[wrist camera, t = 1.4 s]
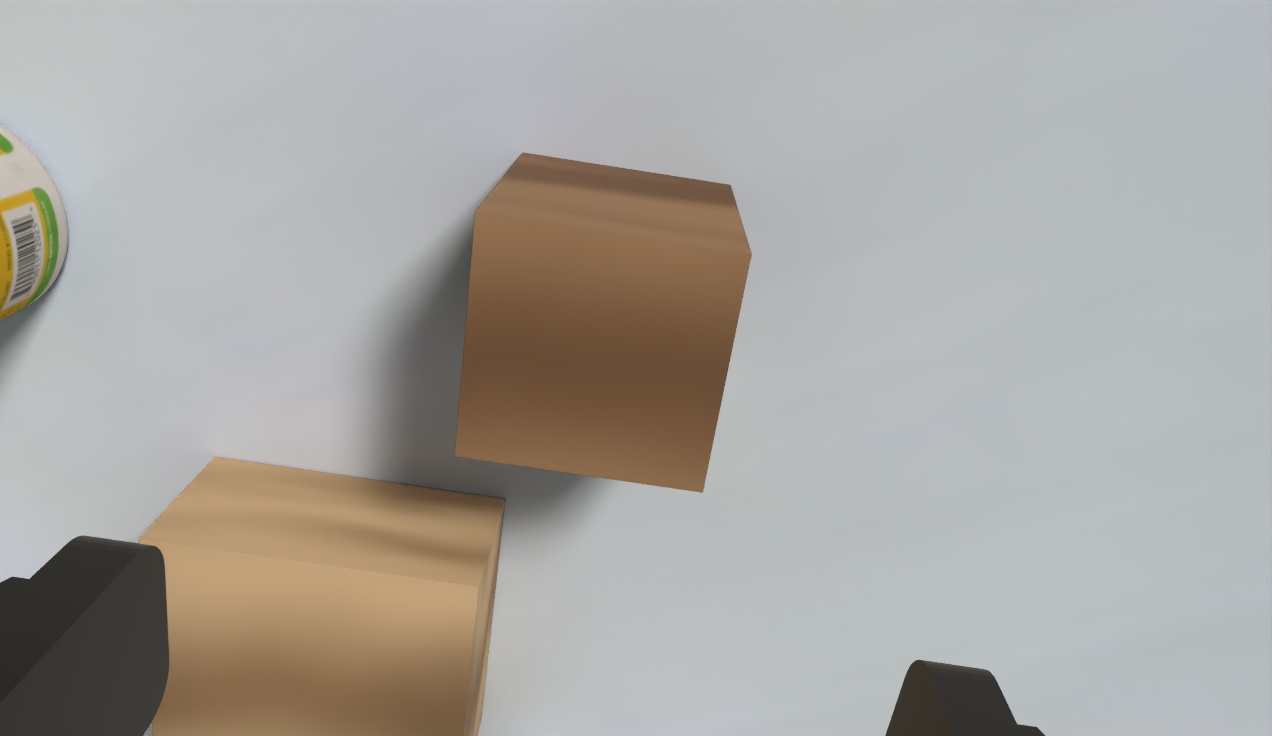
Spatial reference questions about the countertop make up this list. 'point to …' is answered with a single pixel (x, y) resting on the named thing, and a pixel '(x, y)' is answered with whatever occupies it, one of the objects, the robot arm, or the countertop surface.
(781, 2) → the countertop surface
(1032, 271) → the countertop surface
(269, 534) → the oak pedestal
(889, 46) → the countertop surface
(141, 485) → the countertop surface
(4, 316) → the supplement bottle
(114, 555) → the robot arm
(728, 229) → the walnut block
